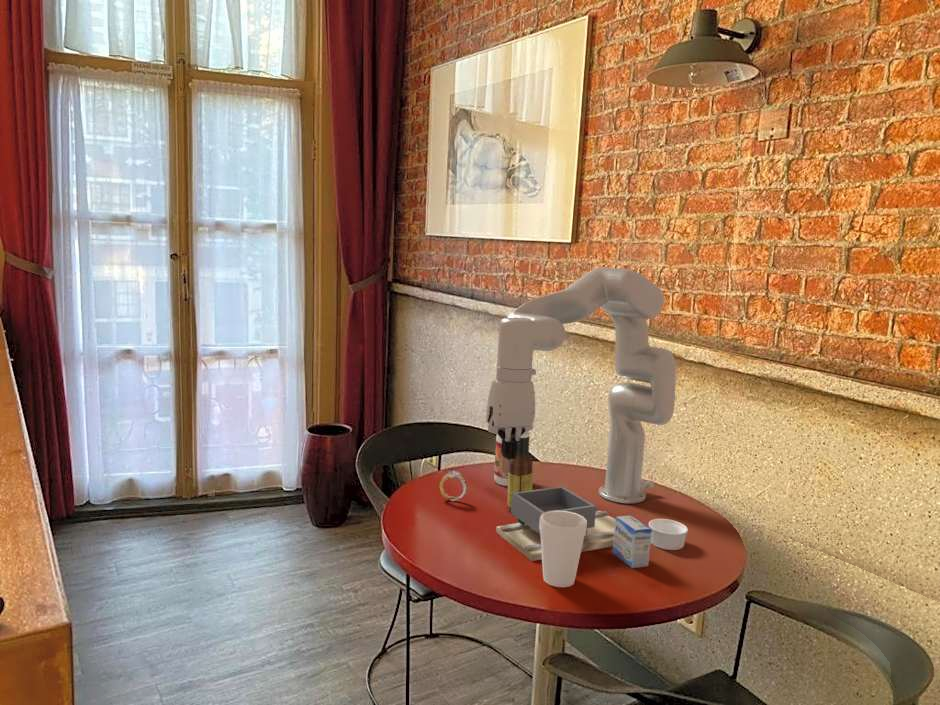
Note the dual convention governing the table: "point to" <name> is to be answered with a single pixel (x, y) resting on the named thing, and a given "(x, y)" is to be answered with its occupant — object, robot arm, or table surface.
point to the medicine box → (632, 541)
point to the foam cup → (561, 546)
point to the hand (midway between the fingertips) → (508, 457)
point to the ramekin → (668, 534)
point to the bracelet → (453, 475)
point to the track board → (531, 540)
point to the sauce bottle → (520, 470)
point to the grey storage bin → (549, 505)
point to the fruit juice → (502, 463)
